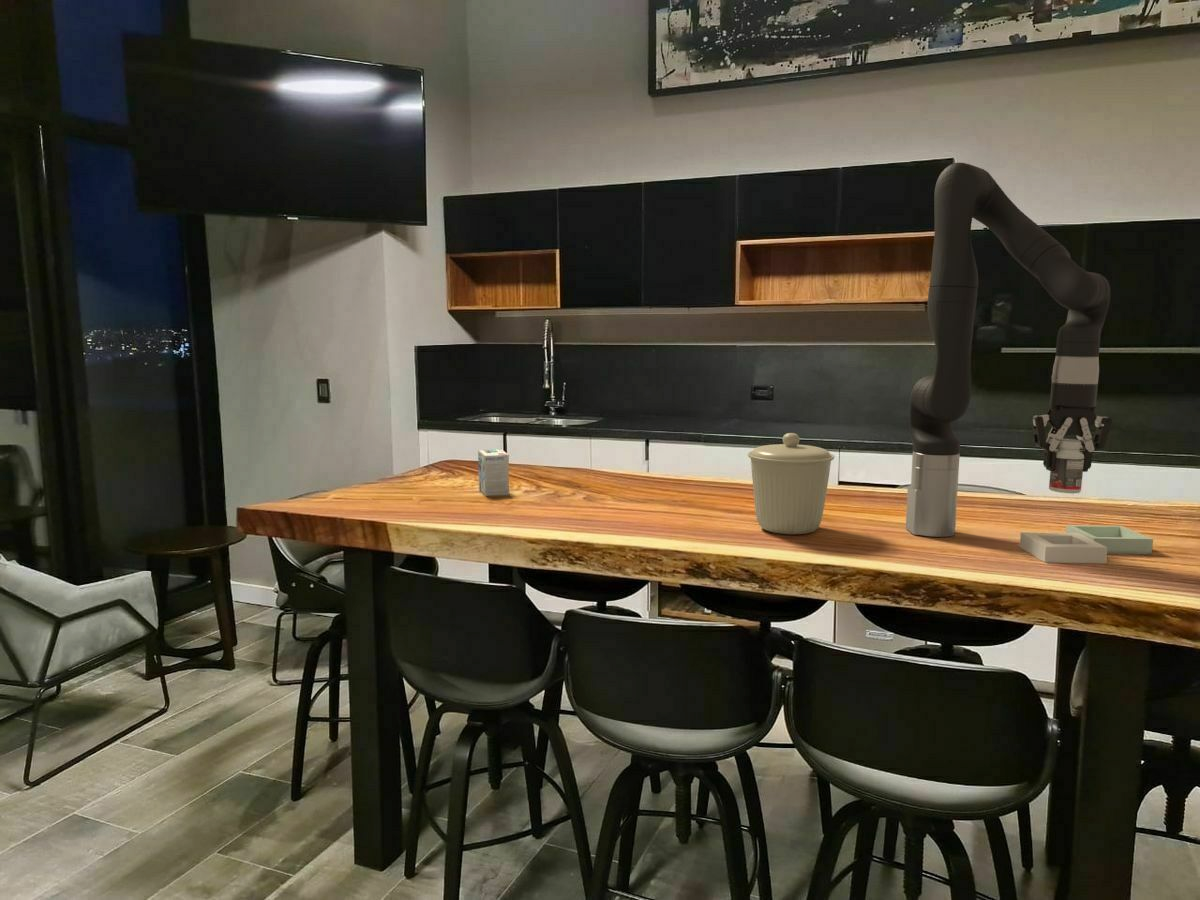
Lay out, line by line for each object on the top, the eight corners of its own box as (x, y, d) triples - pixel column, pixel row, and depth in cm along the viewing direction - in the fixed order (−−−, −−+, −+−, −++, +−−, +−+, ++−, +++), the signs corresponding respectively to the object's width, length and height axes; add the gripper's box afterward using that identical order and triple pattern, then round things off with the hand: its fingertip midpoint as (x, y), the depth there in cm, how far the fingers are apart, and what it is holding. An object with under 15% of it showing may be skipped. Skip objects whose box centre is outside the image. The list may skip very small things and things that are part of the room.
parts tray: (1092, 553, 163) (1093, 538, 163) (1065, 539, 174) (1066, 525, 174) (1151, 554, 163) (1153, 539, 162) (1120, 540, 174) (1122, 525, 173)
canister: (730, 524, 189) (732, 430, 186) (800, 517, 195) (803, 426, 192) (775, 543, 172) (777, 440, 169) (849, 535, 178) (853, 436, 175)
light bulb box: (478, 489, 231) (477, 449, 229) (502, 487, 233) (501, 448, 231) (484, 496, 221) (483, 455, 219) (510, 494, 223) (509, 454, 221)
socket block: (1044, 562, 157) (1045, 546, 157) (1019, 547, 168) (1020, 532, 168) (1106, 563, 157) (1107, 547, 156) (1076, 548, 167) (1078, 533, 167)
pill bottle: (1042, 488, 163) (1047, 438, 162) (1068, 488, 163) (1073, 438, 162) (1060, 494, 158) (1064, 441, 156) (1087, 493, 158) (1092, 442, 157)
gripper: (1043, 381, 154) (1035, 473, 157) (1125, 382, 153) (1116, 475, 156) (1026, 379, 162) (1019, 466, 164) (1104, 380, 161) (1096, 468, 163)
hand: (1066, 470), depth 160 cm, fingers closed on pill bottle, 5 cm apart
